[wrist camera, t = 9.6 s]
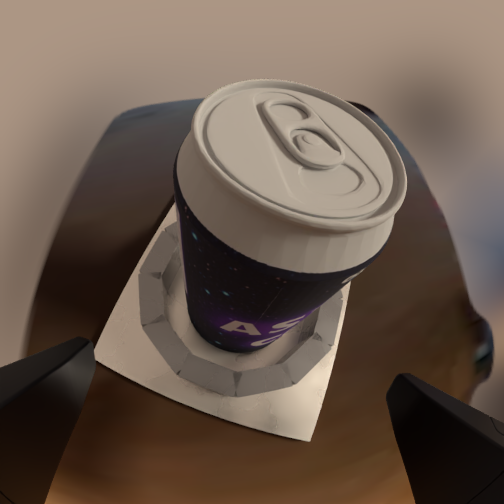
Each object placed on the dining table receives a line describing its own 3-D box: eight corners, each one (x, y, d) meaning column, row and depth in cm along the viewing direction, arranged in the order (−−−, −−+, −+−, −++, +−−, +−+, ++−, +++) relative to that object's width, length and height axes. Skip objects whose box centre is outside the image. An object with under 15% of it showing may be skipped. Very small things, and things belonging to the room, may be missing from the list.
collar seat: (306, 440, 13) (328, 448, 10) (94, 358, 13) (72, 349, 11) (351, 256, 20) (372, 234, 17) (185, 192, 20) (184, 162, 17)
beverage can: (205, 368, 14) (218, 293, 3) (176, 274, 16) (156, 79, 6) (299, 335, 16) (457, 217, 5) (264, 252, 18) (340, 78, 7)
